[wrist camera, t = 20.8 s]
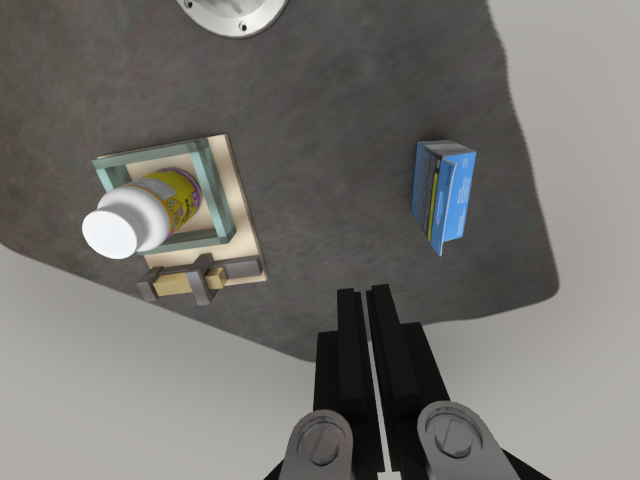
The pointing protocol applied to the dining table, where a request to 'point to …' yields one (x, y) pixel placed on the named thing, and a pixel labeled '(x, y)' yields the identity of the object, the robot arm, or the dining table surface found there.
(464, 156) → the label tape box
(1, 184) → the dining table surface
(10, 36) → the dining table surface
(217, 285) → the lock bolt
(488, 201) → the dining table surface
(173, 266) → the dock
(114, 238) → the supplement bottle
